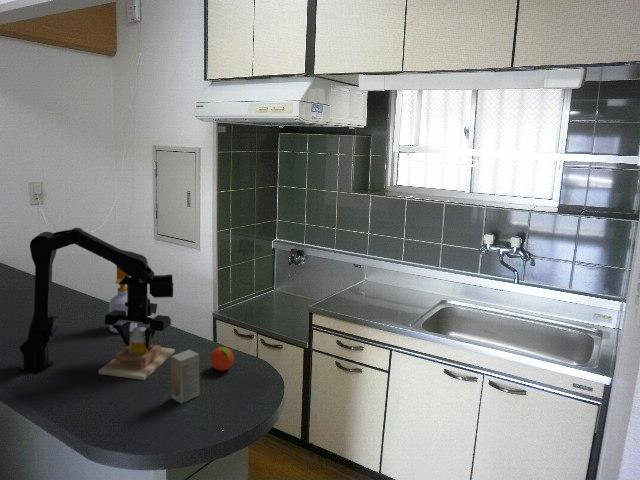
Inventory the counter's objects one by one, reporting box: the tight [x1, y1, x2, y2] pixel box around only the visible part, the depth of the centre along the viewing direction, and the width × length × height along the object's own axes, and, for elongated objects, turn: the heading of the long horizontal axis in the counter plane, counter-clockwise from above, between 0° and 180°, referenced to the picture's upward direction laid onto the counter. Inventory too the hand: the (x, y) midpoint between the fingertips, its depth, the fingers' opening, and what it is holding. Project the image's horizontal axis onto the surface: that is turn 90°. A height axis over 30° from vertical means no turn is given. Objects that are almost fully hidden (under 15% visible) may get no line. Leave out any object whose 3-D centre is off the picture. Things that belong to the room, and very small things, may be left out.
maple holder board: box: [97, 344, 176, 381], centre depth 159 cm, size 20×14×4 cm
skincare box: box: [170, 349, 200, 404], centre depth 139 cm, size 6×4×12 cm
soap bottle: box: [108, 266, 138, 334], centre depth 181 cm, size 9×9×25 cm
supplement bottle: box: [129, 326, 148, 356], centre depth 158 cm, size 5×5×10 cm
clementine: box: [209, 346, 235, 371], centre depth 156 cm, size 8×7×7 cm
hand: (138, 347), depth 158 cm, fingers open, 6 cm apart
